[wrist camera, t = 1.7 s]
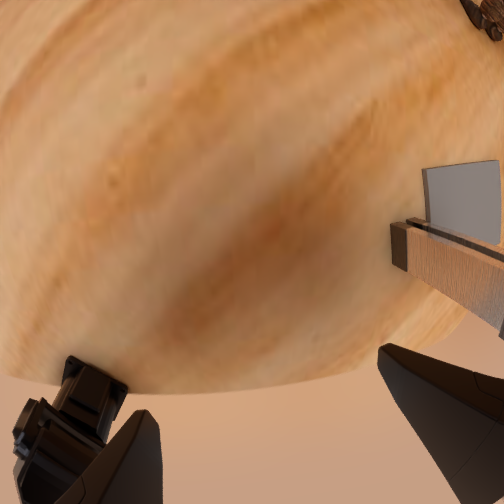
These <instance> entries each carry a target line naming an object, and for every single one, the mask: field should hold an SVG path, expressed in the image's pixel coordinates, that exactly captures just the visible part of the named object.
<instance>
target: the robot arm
mask: <svg viewBox="0 0 504 504" xmlns="http://www.w3.org/2000/svg"><path fill="white" fill-rule="evenodd" d="M377 365H378V369H379V371H380V373H381V375H382V377H383V379H384V381H385V383H386V385H387V387H388V389H389V390H390V392H391V394H392V396H393V398H394V400H395V402H396V404H397V405H398V407H399V408H400V410H401V411H402V413H403V414H404V416H405V417H406V418H407V420H408V421H409V423H410V424H411V426H412V427H413V429H414V430H415V432H416V433H417V435H418V436H419V438H420V439H421V441H422V442H423V444H424V445H425V447H426V448H427V450H428V452H429V453H430V455H431V456H432V458H433V459H434V461H435V462H436V464H437V466H438V467H439V469H440V470H441V472H442V474H443V475H444V477H445V478H446V480H447V482H448V483H449V485H450V487H451V488H452V490H453V491H454V493H455V495H456V496H457V498H458V499H459V501H460V503H461V504H493V503H495V502H496V501H498V500H499V499H501V498H502V500H503V501H504V379H500V378H495V377H491V376H487V375H484V374H481V373H478V372H473V371H471V370H468V369H465V368H462V367H458V366H455V365H452V364H449V363H446V362H443V361H440V360H437V359H434V358H432V357H429V356H426V355H423V354H420V353H417V352H414V351H411V350H409V349H406V348H403V347H400V346H397V345H395V344H392V343H387V344H385V345H383V346H381V347H379V349H378V362H377ZM123 389H124V390H123ZM128 390H129V389H128V387H127V386H126V385H124V384H122V383H120V382H118V381H116V380H114V379H112V378H110V377H108V376H106V375H104V374H102V373H100V372H98V371H96V370H94V369H93V368H91V367H89V366H87V365H85V364H84V363H82V362H80V361H79V360H77V359H75V358H74V357H71V356H69V357H68V358H67V360H66V363H65V368H64V374H63V379H62V385H61V389H60V391H59V393H58V394H57V396H56V398H55V400H54V402H53V404H52V406H51V405H50V404H49V403H48V402H47V400H45V399H44V398H43V397H42V398H41V399H40V400H39V401H37V400H33V399H31V398H29V400H28V401H27V403H26V405H25V407H24V408H23V410H22V412H21V414H20V416H19V418H18V420H17V422H16V424H15V426H14V429H13V431H12V433H13V436H14V439H15V442H14V445H15V446H14V450H13V453H14V454H15V455H16V456H17V457H18V459H17V462H16V464H15V466H14V469H13V475H14V480H15V484H16V488H17V493H18V496H19V500H20V504H163V464H162V453H161V442H160V429H159V425H158V423H157V422H156V420H155V419H154V418H153V417H152V415H151V414H150V412H149V411H148V410H145V409H144V410H136V411H135V412H134V413H133V414H132V415H131V417H130V418H129V419H128V420H127V421H126V423H125V424H124V425H123V426H122V427H121V429H120V430H119V431H118V432H117V433H116V434H115V436H114V437H113V438H112V439H111V440H110V442H109V443H108V444H106V442H107V439H108V435H109V431H110V428H111V424H112V421H115V419H116V417H117V414H118V412H119V410H120V408H121V406H122V404H123V402H124V399H125V397H126V395H127V393H128Z"/></svg>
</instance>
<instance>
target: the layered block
mask: <svg viewBox="0 0 504 504" xmlns="http://www.w3.org/2000/svg"><path fill="white" fill-rule="evenodd" d="M406 223H407V224H405V223H402V222H396V223H393V224H390V228H391V243H392V264H393V265H395V266H397V267H399V268H400V269H402V270H404V271H405V272H409V273H410V274H412V275H414V276H415V277H417V278H419V279H420V280H422V281H424V282H425V283H427V284H429V285H430V286H432V287H433V288H435V289H437V290H438V291H440V292H442V293H443V294H445V295H446V296H448V297H449V298H451V299H453V300H454V301H456V302H457V303H459V304H460V305H462V306H463V307H465V308H466V309H468V310H469V311H471V312H472V313H474V314H476V315H477V316H478V317H480V318H481V319H483V320H484V321H486V322H487V323H489V324H490V325H491V326H493V327H494V328H496V329H497V330H499V331H500V333H499V337H500V338H501V339H503V340H504V249H502V248H500V247H498V246H495V245H492V244H490V243H487V242H485V241H482V240H479V239H477V238H474V237H471V236H468V235H466V234H463V233H460V232H457V231H454V230H451V229H448V228H445V227H442V226H439V225H436V224H433V223H430V222H428V221H425V220H422V219H418V218H415V217H414V218H410V219H407V220H406Z"/></svg>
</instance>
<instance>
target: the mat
mask: <svg viewBox="0 0 504 504" xmlns="http://www.w3.org/2000/svg"><path fill="white" fill-rule="evenodd" d="M422 173H423V182H424V192H425V204H426V221H428V222H430V223H433V224H436V225H439V226H442V227H445V228H448V229H451V230H454V231H457V232H460V233H463V234H466V235H468V236H471V237H474V238H477V239H479V240H482V241H485V242H487V243H490V244H492V245H497V244H499V243H500V234H501V180H500V166H499V160H491V161H482V162H473V163H464V164H456V165H449V166H441V167H434V168H428V169H422Z"/></svg>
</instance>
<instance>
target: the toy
mask: <svg viewBox="0 0 504 504" xmlns="http://www.w3.org/2000/svg"><path fill="white" fill-rule="evenodd" d="M461 1H462V3H463V5H464V7H465V10H466V12H467V13H468V15H469V17H470V19H471V20H472V22H473V23H474V24H475V25H476V26H477V27H478V28H480V29H484V28H486V30H487V32H488V34H489V35H490V37H491V38H492V39H493V40H495V41H501V40H502V33H501V32H503V33H504V0H483V1H482V2H481V5H480V8H479V7H478V5H476V4H474V3H473V1H471V0H461Z"/></svg>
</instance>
